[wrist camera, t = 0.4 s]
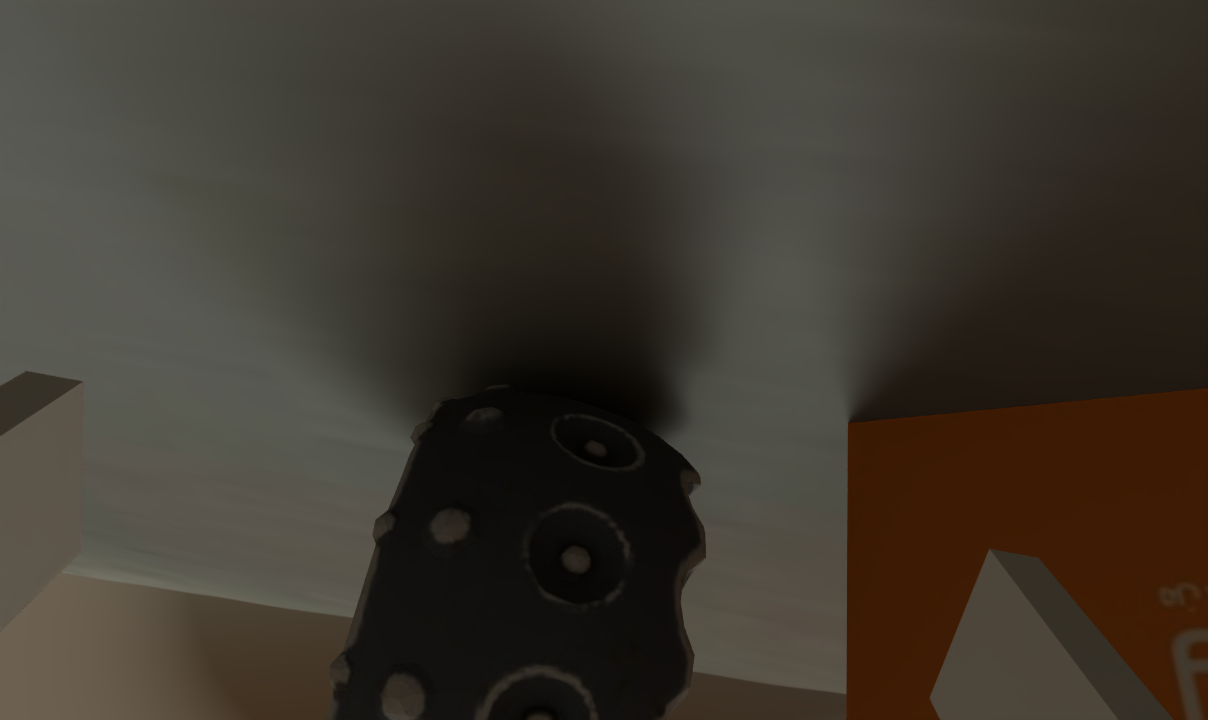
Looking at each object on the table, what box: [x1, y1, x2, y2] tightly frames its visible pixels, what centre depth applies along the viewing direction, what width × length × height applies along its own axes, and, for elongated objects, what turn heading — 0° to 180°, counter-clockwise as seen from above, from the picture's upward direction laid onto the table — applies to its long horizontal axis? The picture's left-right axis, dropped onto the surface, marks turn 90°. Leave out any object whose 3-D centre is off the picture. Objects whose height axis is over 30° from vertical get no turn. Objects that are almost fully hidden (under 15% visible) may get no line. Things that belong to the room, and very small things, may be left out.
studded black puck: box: [325, 385, 706, 720], centre depth 35 cm, size 11×20×20 cm, turn 169°
